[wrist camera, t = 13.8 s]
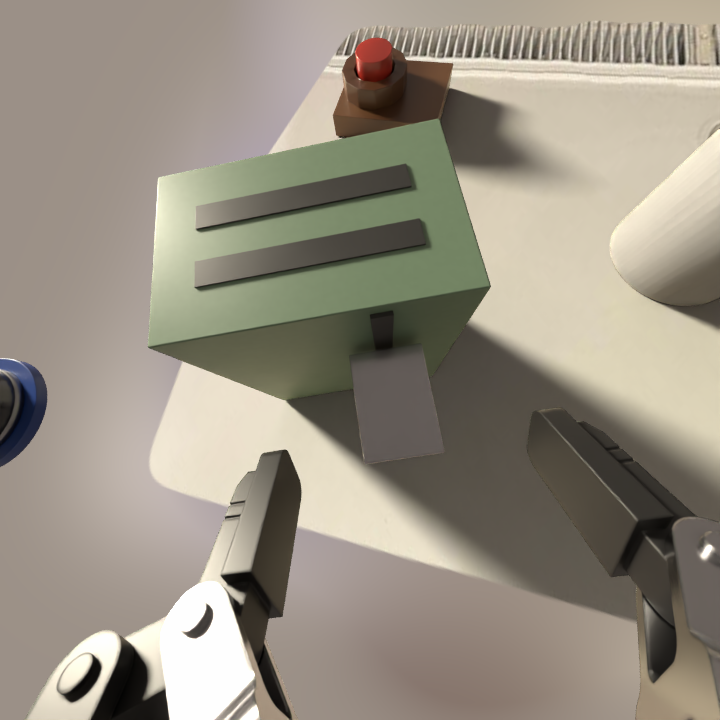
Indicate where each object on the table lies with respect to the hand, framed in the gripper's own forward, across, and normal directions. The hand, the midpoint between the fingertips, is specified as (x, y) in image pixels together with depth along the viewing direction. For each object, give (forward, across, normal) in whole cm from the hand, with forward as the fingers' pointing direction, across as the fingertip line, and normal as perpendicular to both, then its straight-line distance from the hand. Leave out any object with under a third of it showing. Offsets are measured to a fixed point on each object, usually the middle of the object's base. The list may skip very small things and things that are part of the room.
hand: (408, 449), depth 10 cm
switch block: (+36, -6, -15) cm, 39 cm away
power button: (+34, -4, -18) cm, 39 cm away
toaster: (+17, +2, +4) cm, 17 cm away
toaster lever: (+5, 0, +2) cm, 5 cm away
